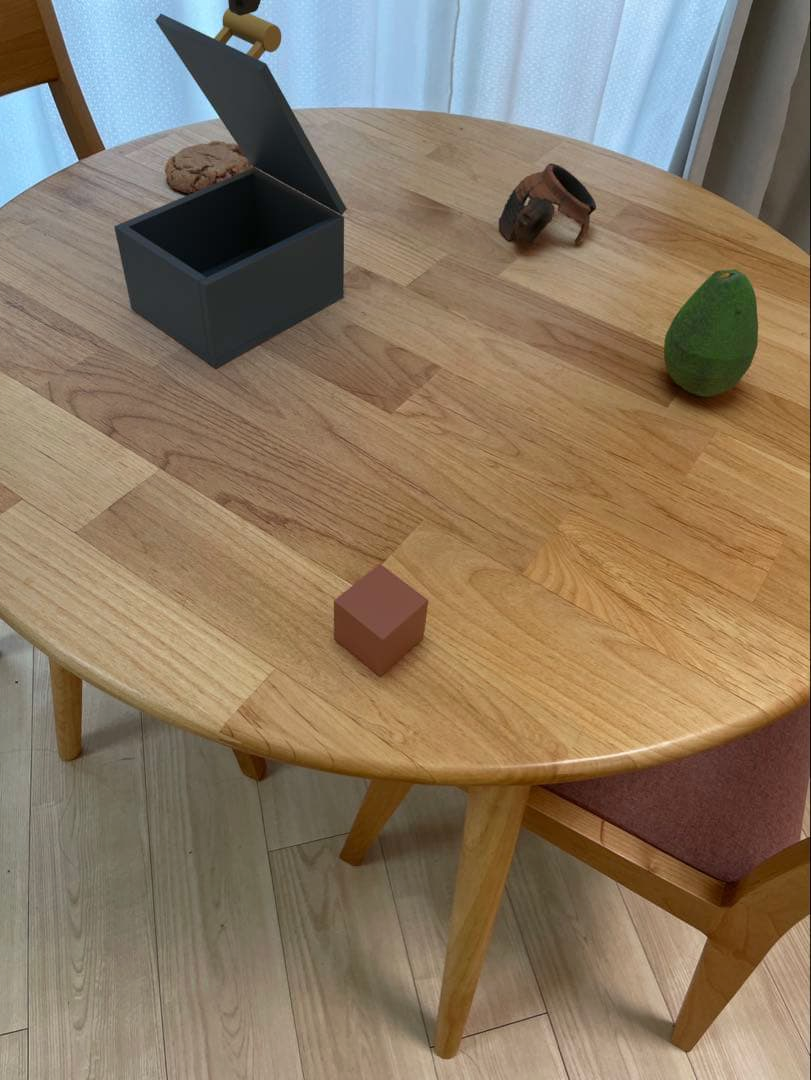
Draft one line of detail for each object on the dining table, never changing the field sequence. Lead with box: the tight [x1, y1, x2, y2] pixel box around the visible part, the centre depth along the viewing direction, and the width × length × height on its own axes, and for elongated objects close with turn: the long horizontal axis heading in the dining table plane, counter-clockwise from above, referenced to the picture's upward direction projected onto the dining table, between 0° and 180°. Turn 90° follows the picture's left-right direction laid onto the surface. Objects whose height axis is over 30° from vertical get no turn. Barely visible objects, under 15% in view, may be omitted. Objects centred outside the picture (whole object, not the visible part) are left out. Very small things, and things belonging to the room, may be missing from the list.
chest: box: [113, 167, 345, 369], centre depth 85 cm, size 17×13×9 cm
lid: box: [154, 7, 348, 216], centre depth 77 cm, size 18×13×5 cm
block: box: [333, 563, 429, 677], centre depth 61 cm, size 5×5×5 cm
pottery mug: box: [498, 163, 597, 245], centre depth 98 cm, size 12×10×8 cm
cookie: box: [164, 140, 253, 194], centre depth 103 cm, size 10×11×3 cm
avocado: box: [663, 269, 759, 398], centre depth 79 cm, size 8×8×12 cm
